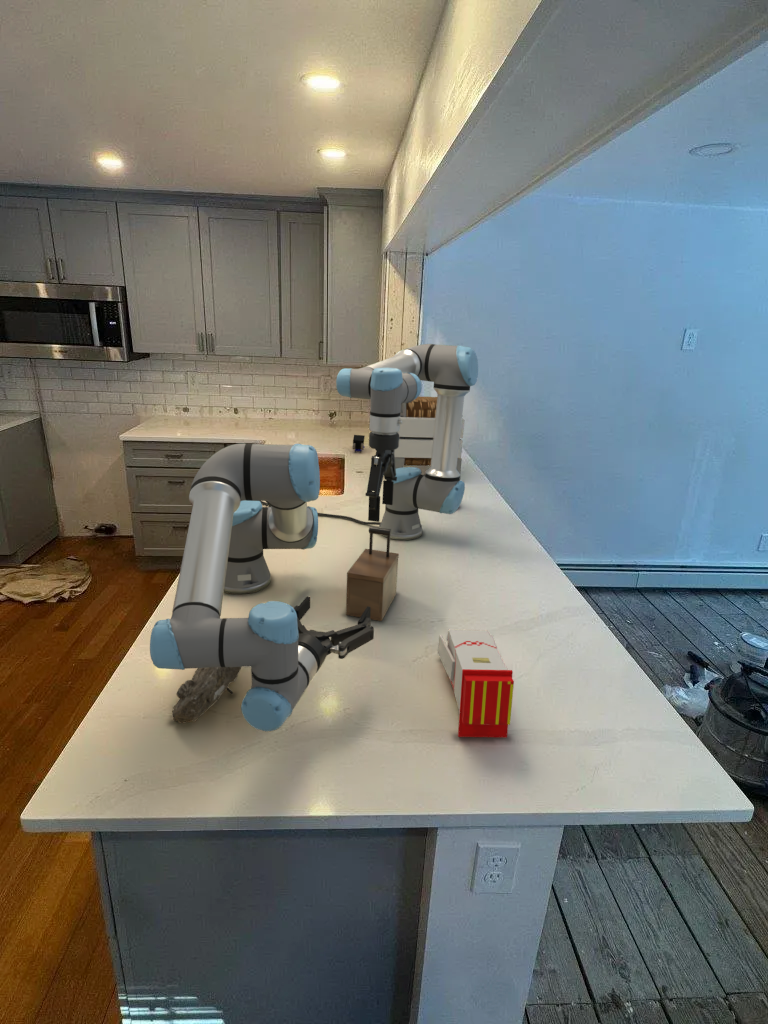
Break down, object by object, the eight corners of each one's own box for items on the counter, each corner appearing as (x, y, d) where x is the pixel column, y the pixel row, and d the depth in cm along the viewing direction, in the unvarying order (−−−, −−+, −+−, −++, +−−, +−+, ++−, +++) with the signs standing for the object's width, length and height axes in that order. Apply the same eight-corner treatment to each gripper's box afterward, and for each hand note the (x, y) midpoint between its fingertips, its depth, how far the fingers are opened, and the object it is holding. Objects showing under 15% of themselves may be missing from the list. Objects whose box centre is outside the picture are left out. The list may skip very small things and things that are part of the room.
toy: (488, 613, 130) (523, 677, 101) (484, 667, 133) (517, 744, 104) (435, 612, 130) (455, 676, 101) (432, 666, 133) (451, 743, 103)
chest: (363, 588, 160) (364, 553, 156) (396, 593, 158) (398, 558, 154) (346, 615, 146) (346, 577, 142) (381, 621, 144) (383, 583, 140)
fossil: (195, 641, 124) (244, 609, 119) (226, 670, 127) (274, 640, 122) (149, 717, 105) (205, 683, 100) (186, 749, 107) (242, 718, 102)
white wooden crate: (382, 463, 289) (386, 382, 275) (445, 464, 293) (451, 384, 279) (390, 482, 257) (394, 392, 243) (460, 483, 261) (468, 394, 247)
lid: (365, 552, 157) (366, 521, 154) (398, 557, 155) (400, 526, 152) (346, 577, 142) (347, 543, 139) (383, 582, 140) (385, 548, 137)
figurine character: (364, 456, 306) (364, 446, 320) (364, 442, 303) (365, 433, 317) (351, 455, 306) (352, 446, 320) (352, 442, 303) (353, 433, 316)
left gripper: (237, 666, 106) (284, 613, 126) (364, 692, 100) (393, 632, 120) (235, 631, 104) (284, 582, 123) (366, 656, 98) (395, 600, 117)
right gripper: (386, 443, 129) (382, 530, 136) (409, 424, 152) (405, 499, 159) (354, 440, 131) (352, 526, 138) (382, 422, 153) (379, 496, 161)
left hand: (338, 607), depth 122 cm, fingers open, 13 cm apart
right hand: (380, 512), depth 148 cm, fingers open, 13 cm apart
